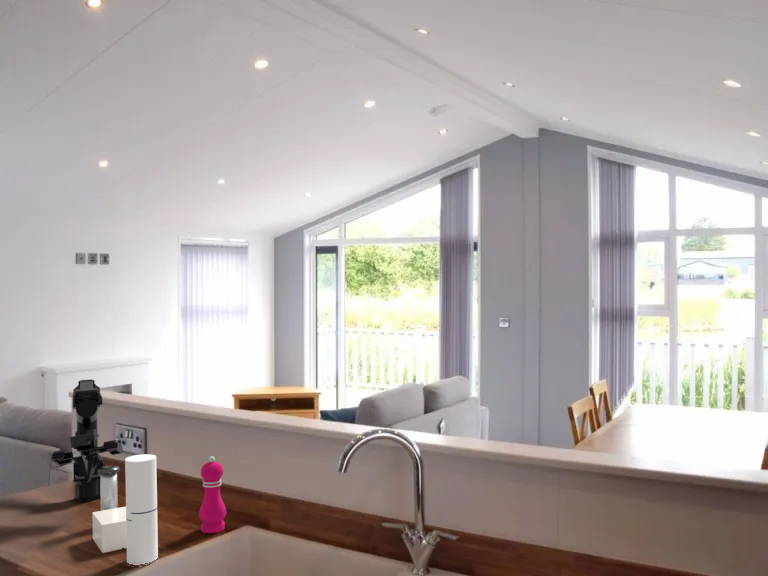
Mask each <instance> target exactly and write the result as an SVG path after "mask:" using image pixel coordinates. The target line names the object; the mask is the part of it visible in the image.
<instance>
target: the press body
mask: <svg viewBox="0 0 768 576" xmlns="http://www.w3.org/2000/svg"><path fill="white" fill-rule="evenodd" d="M91 517H92V539H93V541H94V542H95V544H96V546H97V547H98V549H99V551H101V553H102V554H104V553H105V554H106V553H109V552H113V551H118V550H123V549H122V548H124V549H127V536H126V505H125V506H121V507H120V506H119V507H118V508H114V509H109V510H103V511H101V510H98V511H94V512H92V516H91Z"/></svg>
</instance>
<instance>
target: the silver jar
mask: <svg viewBox="0 0 768 576" xmlns="http://www.w3.org/2000/svg"><path fill="white" fill-rule="evenodd" d="M118 472H120V466H119V465H105V466H103V467H100V468H98V474H100V495H101V498H100V511H103V510H109V509H114V508H119V507H118V505H119V504H118V501H119V499H118Z"/></svg>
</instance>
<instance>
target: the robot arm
mask: <svg viewBox="0 0 768 576" xmlns="http://www.w3.org/2000/svg"><path fill="white" fill-rule="evenodd" d="M72 391H73V392H72V409H73V410H75V417H76V431H75V433H74V434H75V435H74V436H70V437H69V444H70V448H71V449H73V450H75V451H68V450H67V449H58V450H55V451H53V452H52V453H51V455H50V460H51V462H53V463H54V464H56V465H57V466H62V465H67V464H68V465H69V464H70V463H71V462H72V461H73V463H72V467H73V469H72V470H73V474H72V475H73V483H76V484H75V486H74V497H73V499H74V500H76V501H79V502H83V503H87V502H90V501H94V500H98V499H101V492H100V474H98V468H100V467H103V466H106V464H105V463H104V462H103V460H104V457H103V454H104V453H109V454H110V455H111V456H116V455H120V454H123V453H124V451H123V444H121V442H119V441H118V440H117V439H113V440H108V441H107V440H106V441H104V442H103V445H101V446H99V442H98V439H99V438H100V437H99V436H100V435H99V434H100V433H98V411H99V408H100V407H101V406H102V405H103V396H102V394H101V388H100V386H98V385H96V382H95V379H92V378H91V379H80V380H78V383H77V386H76V387H75V388H73V389H72Z"/></svg>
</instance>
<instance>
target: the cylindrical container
mask: <svg viewBox="0 0 768 576" xmlns="http://www.w3.org/2000/svg"><path fill="white" fill-rule="evenodd" d="M124 465H125V467H124V470H125V472H124V473H125V506H126V536H127V548H126V564H127V563H129V564H133V565H140V564H145V563H149V562H152V561H154V560H156V559H157V558H158V559H159V549H158V548H159V544H158V543H159V539H158V538H159V537H158V535H159V534H158V530H159V529H158V485H157V483H158V482H157V480H158V479H157V476H158V475H157V469H158V468H157V455H154V454H152V453H151V454H146V453H145V454H143V453H142V454H135V455H130V456H128V457H125V460H124Z"/></svg>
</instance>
